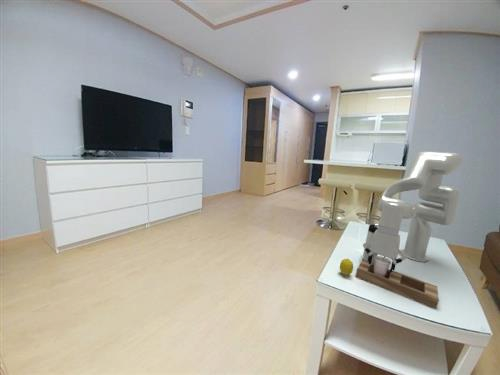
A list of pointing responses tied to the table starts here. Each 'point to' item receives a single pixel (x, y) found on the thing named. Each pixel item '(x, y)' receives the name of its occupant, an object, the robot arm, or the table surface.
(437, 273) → the table surface
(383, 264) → the smoothie
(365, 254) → the travel mug
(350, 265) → the lemon
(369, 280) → the wooden frame
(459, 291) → the table surface
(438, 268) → the table surface
